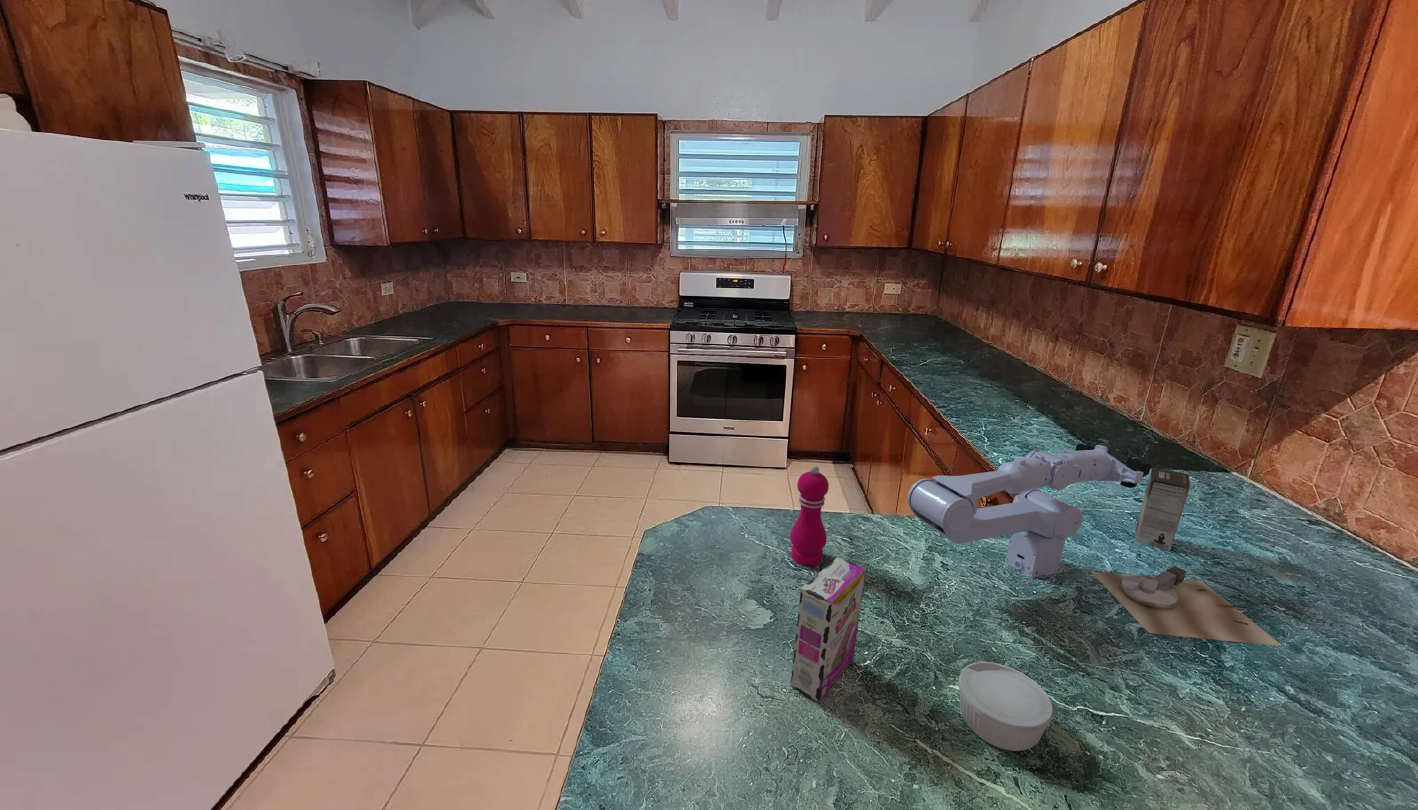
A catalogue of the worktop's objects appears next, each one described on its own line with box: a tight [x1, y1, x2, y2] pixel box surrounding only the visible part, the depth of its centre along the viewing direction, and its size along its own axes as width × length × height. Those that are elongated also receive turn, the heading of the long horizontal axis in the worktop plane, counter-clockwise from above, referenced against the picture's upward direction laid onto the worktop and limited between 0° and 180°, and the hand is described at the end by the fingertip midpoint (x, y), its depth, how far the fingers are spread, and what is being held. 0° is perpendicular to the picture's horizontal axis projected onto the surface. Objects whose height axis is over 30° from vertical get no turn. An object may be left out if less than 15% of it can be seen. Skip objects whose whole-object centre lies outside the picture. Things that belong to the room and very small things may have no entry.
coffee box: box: [1134, 466, 1191, 552], centre depth 120 cm, size 9×6×16 cm
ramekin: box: [958, 661, 1054, 752], centre depth 74 cm, size 11×11×5 cm
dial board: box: [1090, 570, 1283, 647], centre depth 99 cm, size 20×18×1 cm
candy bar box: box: [790, 556, 867, 703], centre depth 80 cm, size 11×5×16 cm, turn 141°
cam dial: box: [1121, 565, 1187, 610], centre depth 102 cm, size 15×8×4 cm, turn 118°
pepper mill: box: [789, 464, 829, 566], centre depth 110 cm, size 7×7×20 cm
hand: (1127, 462), depth 112 cm, fingers open, 7 cm apart
